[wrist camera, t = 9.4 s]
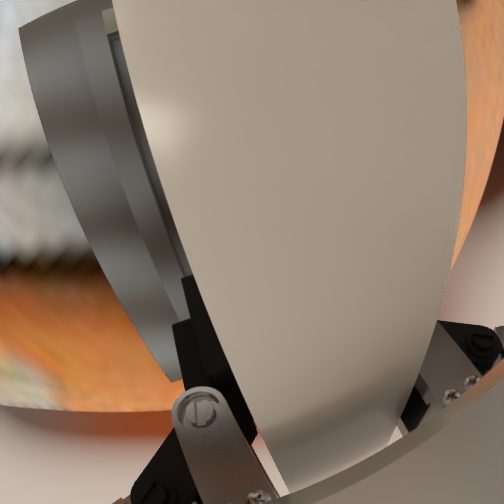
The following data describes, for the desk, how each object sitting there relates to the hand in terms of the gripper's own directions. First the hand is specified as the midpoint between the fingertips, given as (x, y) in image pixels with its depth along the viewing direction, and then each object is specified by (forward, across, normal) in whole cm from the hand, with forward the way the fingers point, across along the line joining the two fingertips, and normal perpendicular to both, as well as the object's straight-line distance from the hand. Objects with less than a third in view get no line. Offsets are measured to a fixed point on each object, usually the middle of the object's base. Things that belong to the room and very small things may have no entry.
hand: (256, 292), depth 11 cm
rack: (+9, 0, 0) cm, 9 cm away
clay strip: (+2, 0, 0) cm, 2 cm away
